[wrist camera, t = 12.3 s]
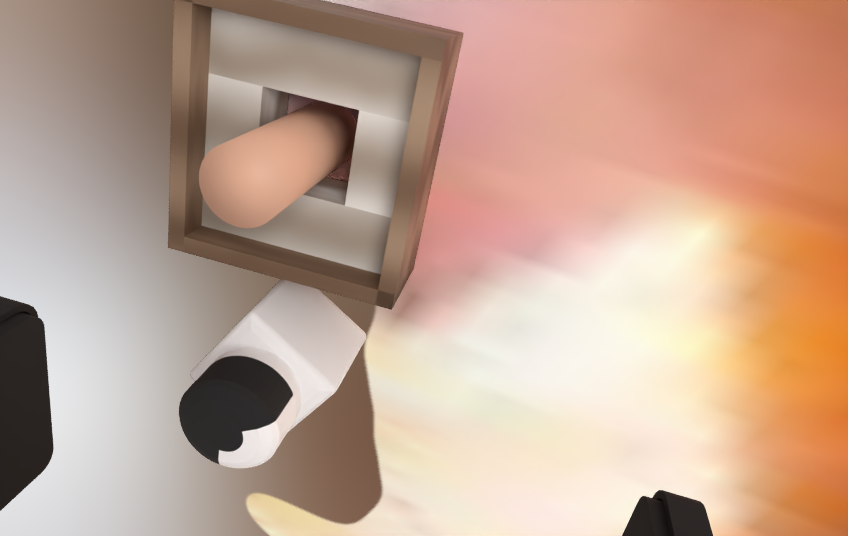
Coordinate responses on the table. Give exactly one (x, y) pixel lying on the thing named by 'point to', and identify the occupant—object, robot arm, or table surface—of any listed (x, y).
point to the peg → (276, 163)
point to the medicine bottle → (268, 375)
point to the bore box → (268, 100)
